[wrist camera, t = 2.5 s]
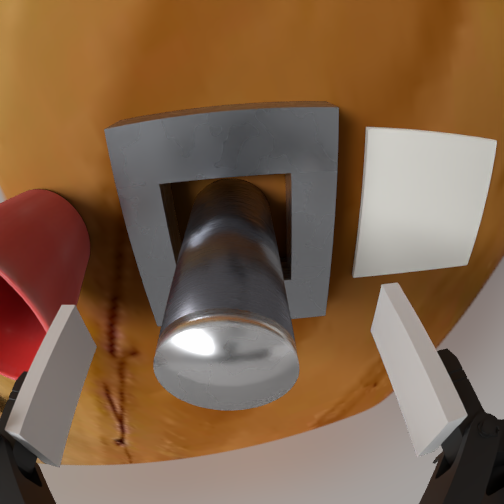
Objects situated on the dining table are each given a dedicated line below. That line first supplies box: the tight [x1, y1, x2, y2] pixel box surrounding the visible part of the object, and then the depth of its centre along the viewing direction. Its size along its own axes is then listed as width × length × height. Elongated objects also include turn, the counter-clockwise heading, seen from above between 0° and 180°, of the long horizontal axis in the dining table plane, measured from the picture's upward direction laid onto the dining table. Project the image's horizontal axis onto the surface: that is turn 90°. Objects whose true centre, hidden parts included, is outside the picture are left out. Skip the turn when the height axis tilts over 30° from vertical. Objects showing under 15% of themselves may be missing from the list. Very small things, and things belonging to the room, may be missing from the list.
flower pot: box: [0, 189, 90, 380], centre depth 16 cm, size 11×11×10 cm
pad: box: [352, 127, 497, 278], centre depth 20 cm, size 11×11×1 cm
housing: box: [104, 101, 339, 326], centre depth 19 cm, size 14×12×2 cm
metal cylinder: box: [153, 179, 299, 410], centre depth 15 cm, size 5×5×12 cm
